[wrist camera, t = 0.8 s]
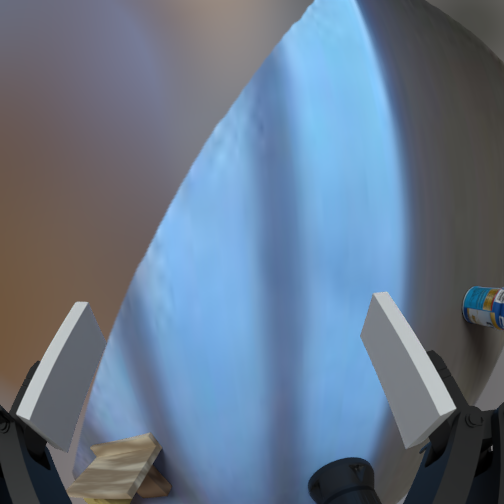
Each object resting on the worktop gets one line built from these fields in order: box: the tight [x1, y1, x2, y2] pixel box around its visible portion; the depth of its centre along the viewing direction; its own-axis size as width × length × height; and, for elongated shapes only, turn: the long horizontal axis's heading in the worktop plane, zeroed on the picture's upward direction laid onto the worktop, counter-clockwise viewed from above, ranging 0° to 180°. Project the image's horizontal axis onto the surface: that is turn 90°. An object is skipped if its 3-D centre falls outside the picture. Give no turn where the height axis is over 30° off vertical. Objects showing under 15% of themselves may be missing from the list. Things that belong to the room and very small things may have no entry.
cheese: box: [84, 498, 133, 504], centre depth 40 cm, size 10×11×10 cm
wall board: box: [66, 432, 172, 499], centre depth 36 cm, size 16×20×18 cm
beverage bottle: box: [462, 286, 504, 331], centre depth 35 cm, size 8×8×20 cm
